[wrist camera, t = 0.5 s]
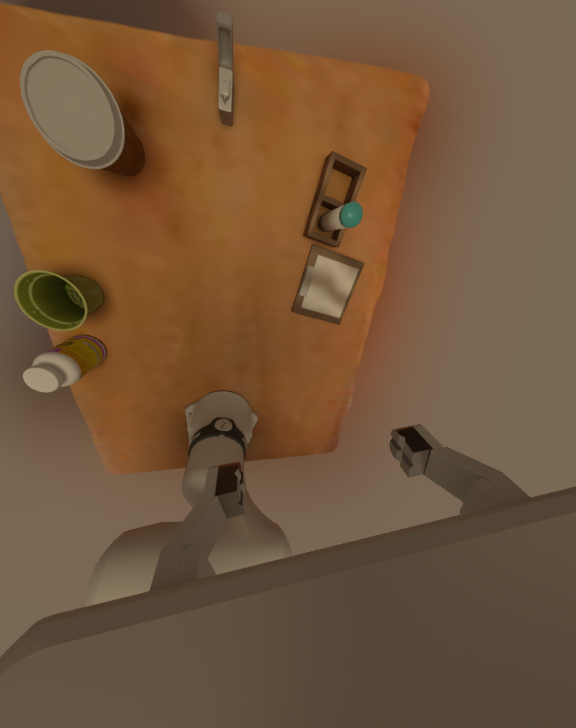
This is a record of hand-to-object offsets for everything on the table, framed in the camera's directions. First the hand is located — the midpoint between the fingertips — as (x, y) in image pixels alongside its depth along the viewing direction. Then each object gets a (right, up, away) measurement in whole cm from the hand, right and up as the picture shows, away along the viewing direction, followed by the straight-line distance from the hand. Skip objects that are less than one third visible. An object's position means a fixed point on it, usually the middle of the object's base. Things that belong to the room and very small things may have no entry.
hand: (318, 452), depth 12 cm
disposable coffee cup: (-27, +38, +24) cm, 52 cm away
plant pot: (-40, +18, +32) cm, 54 cm away
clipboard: (+7, +21, +38) cm, 44 cm away
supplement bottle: (-44, +8, +36) cm, 57 cm away
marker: (+5, +32, +32) cm, 46 cm away
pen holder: (+6, +35, +31) cm, 47 cm away
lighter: (-11, +46, +23) cm, 52 cm away
